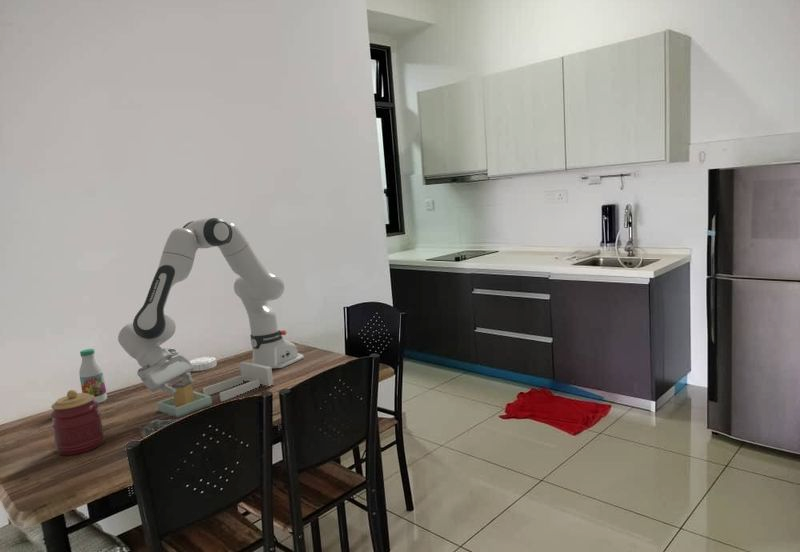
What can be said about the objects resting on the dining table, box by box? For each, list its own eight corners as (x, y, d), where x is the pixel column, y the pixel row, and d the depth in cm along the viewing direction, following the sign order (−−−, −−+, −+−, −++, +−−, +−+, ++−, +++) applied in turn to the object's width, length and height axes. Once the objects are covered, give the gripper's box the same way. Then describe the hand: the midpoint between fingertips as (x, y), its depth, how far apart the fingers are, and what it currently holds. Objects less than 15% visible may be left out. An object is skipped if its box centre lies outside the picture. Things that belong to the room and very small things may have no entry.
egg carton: (138, 440, 172) (135, 427, 171) (152, 429, 179) (150, 417, 179) (170, 438, 170) (168, 425, 170) (183, 428, 177) (181, 415, 177)
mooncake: (183, 373, 241) (182, 364, 241) (193, 364, 253) (192, 357, 253) (211, 370, 241) (210, 362, 241) (220, 362, 253) (219, 354, 253)
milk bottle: (81, 403, 213) (72, 351, 210) (103, 396, 218) (94, 346, 215) (88, 406, 207) (79, 354, 205) (110, 400, 213) (101, 348, 210)
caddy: (183, 402, 199) (180, 381, 198) (194, 403, 197) (191, 381, 196) (175, 407, 194) (172, 385, 193) (186, 407, 193) (183, 385, 192)
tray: (193, 398, 205) (191, 390, 205) (212, 404, 196) (211, 396, 196) (158, 410, 195) (157, 402, 195) (176, 417, 187) (175, 409, 186)
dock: (246, 378, 223) (243, 361, 222) (273, 385, 212) (271, 367, 211) (199, 394, 209) (197, 376, 208) (226, 402, 197) (223, 383, 196)
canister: (53, 460, 162) (42, 401, 159) (60, 444, 174) (49, 389, 171) (103, 448, 167) (93, 391, 164) (107, 433, 179) (97, 380, 176)
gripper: (139, 364, 186) (168, 393, 184) (179, 347, 205) (206, 373, 203) (130, 377, 187) (159, 406, 186) (170, 359, 207) (197, 384, 205)
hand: (184, 388), depth 195 cm, fingers open, 8 cm apart
